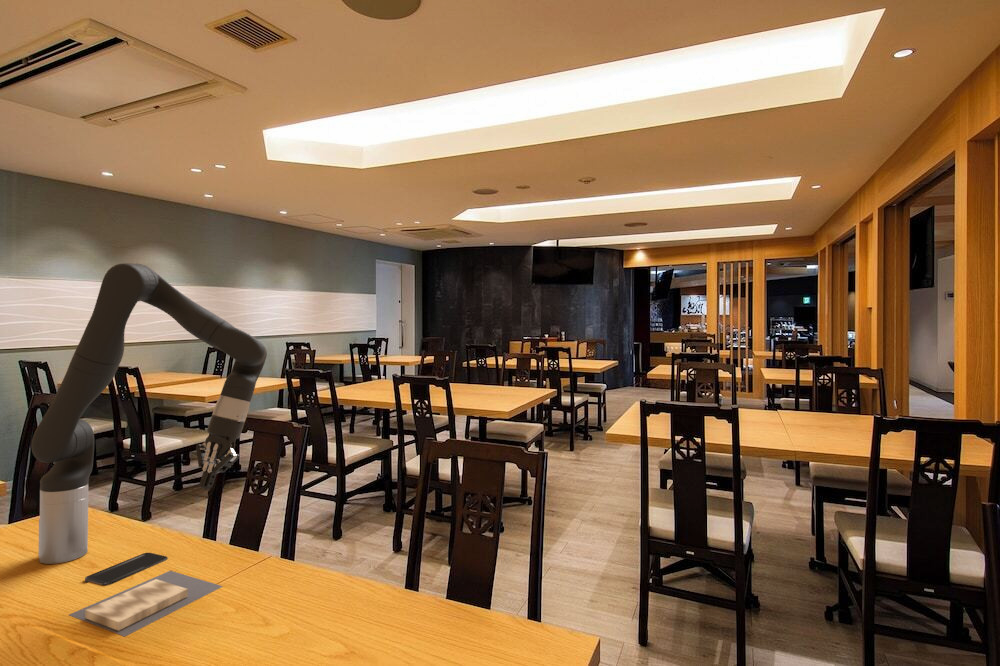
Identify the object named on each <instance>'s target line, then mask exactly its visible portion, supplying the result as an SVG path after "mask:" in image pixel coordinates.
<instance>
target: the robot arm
mask: <svg viewBox="0 0 1000 666" xmlns="http://www.w3.org/2000/svg"><path fill="white" fill-rule="evenodd" d="M138 302H143V303H145V304H147V305H150V306H152V307H154V308H155V307H156V308H157V309H159V310H160V311H162V312H164V313H165V314H166V315H169V316H170V317H171V318H172V319H173V320H175V321H176V323H178V324H179V325H180V327H182V328H183V329H184V330H185V331H187V333H189V334H191V335H192V336H194V337H195V338H197V339H198V340H200V341H202V342H204V343H206V344H207V345H209V346H211V347H212V348H214V349H218V350H220V351H221V352H223V353H225V354H226V355H227V356H229V357H231V358H232V359H233V360H234V363H233V365H232V366H233V367H232V369H231V372H230V373H229V374H228V375H227V377H226V379H225V381H224V384H223V387H222V389H221V392H220V395H219V397H218V400H217V401H216V404H215V406H214V408H213V411H212V414H211V417H210V419H209V423H208V426H207V429H206V433H208V436H207V437H206V439H205V441H204V442H203V443H202V444H200V443H197V444H196V446H195V451H196V457H197V464H198V467H199V468H201V469H202V471H203V473H202V475H201V478H200V481H199V486H198V487H199V489H200V488H201V489H203V490H211V489H212V487H213V486H214V484H215V480H216V477H217V475H218V474H219V473H225V472H226V471H228V469H229V468H230V467H231V466H233V465H234V464H235V462H237V461H238V460H239V458H240V454H239V453H236V451H235V448H236V440H238V439H240V438H241V435H242V431H243V430H244V426H245V423H246V420H247V416H248V413H249V409H250V405H251V400H252V398H253V395H254V391H255V389H256V385H257V381H258V379H259V377H260V375H261V372H262V371H263V368H264V365H265V364H266V360H267V356H268V351H267V349H266V347H265V345H264V343H263V342H262V341H261V340H259V339H258V338H256V337H254V336H253V335H251V334H249V333H247V332H245V331H243V330H241V329H239V328H237V327H235V326H233V325H232V324H231V323H230V322H228V321H227V320H225V319H223V317H220V316H219V315H217V314H215V313H214V312H212V311H210V310H209V309H207V308H205V307H203V306H201V305H200V304H199V303H197V302H195V301H194V300H192V299H191V298H189V297H188V296H186V295H184V294H183V293H182V292H181V291H179V290H178V289H177V288H175V287H174V286H173V285H171V284H170V283H169V282H168V281H167V280H166V279H164V278H163V277H162V276H161V275H160V274H159V273H157V272H156V271H154V269H152V268H151V267H149V266H147V265H146V264H142V263H133V262H131V263H129V262H123V263H118V264H115V265H113V266H111V267H110V268H109V269H108V270H107V272H106V273H105V274H104V276H103V279H102V282H101V285H100V288H99V292H98V294H97V298H96V302H95V305H94V308H93V311H92V313H91V316H90V318H89V320H88V322H87V325H86V326H85V329H84V332H83V334H82V336H81V338H80V341H79V343H78V344H77V346H76V348H75V350H74V353H73V355H72V357H71V360H70V362H69V365H68V366H67V370H66V372H65V375H64V377H63V379H62V381H61V383H60V385H59V387H58V389H57V392H56V394H55V396H54V398H53V400H52V402H51V404H50V406H49V407H48V409H47V411H46V412H45V414H44V416H43V417H42V419H41V421H40V422H39V424H38V426H37V428H36V430H35V431H34V434H33V435H32V438H31V445H30V447H31V452H32V453H31V454H33V456H34V458H35V459H36V460H38V462H42V463H47V464H49V463H50V464H51V463H54V464H53V466H52V467H51V468H50V469H49V470H48V471H47V472H46V473H45V474H44V475H43V476H42V477H40V480H39V519H38V558H39V560H38V561H39V563H41V564H45V565H46V564H47V565H51V564H52V565H53V564H54V565H55V564H62V563H67V562H71V561H74V560H76V559H79V558H81V557H84V556H85V555H86V554H87V553H88V551H89V549H88V545H89V544H88V543H89V541H88V540H89V478H90V475H91V474H92V472H93V468H94V466H93V465H94V456H95V455H94V454H95V433H94V431H93V428H92V426H91V424H89V422H87V420H84V419H82V418H81V417H82V415H83V414H84V412H85V411H86V409H87V408H88V407H89V406H90V405H91V404H92V403H93V402H94V401H95V400H96V399H97V398H98V397H99V396H100V395H101V394H102V393H103V392H104V391H105V390H106V388H108V386H109V385H110V384H111V382H112V380H113V379H114V378H115V376H116V373H117V372H118V369H119V366H120V365H121V362H122V360H123V357H124V351H125V332H126V330H125V329H126V325H127V322H128V320H129V318H130V316H131V314H132V312H133V311H134V308H135V306H136V304H137V303H138Z"/></svg>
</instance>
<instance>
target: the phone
mask: <svg viewBox="0 0 1000 666" xmlns="http://www.w3.org/2000/svg"><path fill="white" fill-rule="evenodd" d="M168 559H169V558H168V556H166V555H163V554H157V553H152V552H143V553H140V554H139V555H136V556H134V557H130V558H129V559H126V560H124V561H121V562H119V563H117V564H114V565H112V566H109V567H107V568H106V567H105V569H101V570H99V571H97V572H95V573H94V572H93V573H91V574H89V575H87V576H85V578H84V582H85V583H86V584H87V583H92V584H97V585H100V586H105V587H106V586H110V585H113V584H116V583H118V582H119V581H120V582H121V581H122V580H125V579H126V578H129V577H131V576H134V575H136V574H138V573H140V572H142V571H145V570H148V569H150V568H152V567H154V566H156V565H159V564H161V563H163V562H165V561H167V560H168Z"/></svg>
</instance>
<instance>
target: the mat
mask: <svg viewBox="0 0 1000 666" xmlns="http://www.w3.org/2000/svg"><path fill="white" fill-rule="evenodd" d="M155 579H157V580H161V581H164V582H167V583H170V584H174V585H177V586H180V587H183V588H186V589H188V597H186V598H184V599H182V600H180V601H178V602H176V603H174V604H172V605H169V606H167V607H165V608H163V609H161V610H159V611H157V612H155V613H153V614H151V615H149V616H147V617H145V618H143V619H141V620H139V621H137V622H135V623H133V624H131V625H129V626H127V627H125V628H123V629H121V630H119V631H118V630H115V629H112V628H110V627H107V626H105V625H102V624H99V623H97V622H94V621H91V620H89V619H86V618H85V610H86V609H89V608H91V607H93V606H95V605H98V604H100V603H102V602H105V601H107V600H109V599H111V598H114V597H116V596H118V595H121V594H123V593H125V592H127V591H130V590H132V589H134V588H137V587H139V586H141V585H143V584H146V583H148V582H150V581H153V580H155ZM222 587H223V588H224V586H223V585H221V584H217V583H213V582H209V581H207V580H203V579H199V578H196V577H193V576H191V575H187V574H183V573H180V572H176V571H173V570H169V571H166V572H163V573H162V574H159V575H157V576H155V577H153V578H152V577H151V578H150V579H148V580H145V581H143V582H141V583H139V584H137V585H135V586H132V587H129V588H127V589H125V590H123V591H120V592H118V593H116V594H113V595H111V596H109V597H106V598H104V599H102V600H98V601H97V602H95V603H92V604H90V605H88V606H85V607H83V608H82V609H81V608H80V609H79V610H76V611H74V612H72V613H69V614H68V616H70V617H72V618H74V619H77V620H80V621H83V622H86V623H89V625H90V624H91V625H93V626H95V627H98V628H101V629H104V630H107V631H109V632H111V633H114V634H117V635H119V636H122V637H127V636H129V635H131V634H134V633H135V632H136V631H138V630H140V629H143V628H145V627H147V626H148V625H151V624H152V623H154V622H156V621H159V620H160V619H162V618H164V617H166V616H169V615H170V614H173V613H174V612H176V611H178V610H179V609H181V608H184V607H186V606H188V605H190V604H191V603H193V602H196V601H197V600H199V599H201V598H203V597H206V596H208V595H209V594H212V593H213V592H215V591H217V590H219V589H221V588H222Z"/></svg>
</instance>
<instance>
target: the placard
mask: <svg viewBox="0 0 1000 666" xmlns="http://www.w3.org/2000/svg"><path fill="white" fill-rule="evenodd" d="M186 597H188V589H186V588H183V587H180V586H177V585H174V584H170V583H167V582H164V581H161V580H157V579H155V580H153V581H150V582H148V583H146V584H143V585H141V586H139V587H137V588H134V589H132V590H130V591H127V592H125V593H123V594H121V595H118V596H116V597H114V598H111V599H109V600H107V601H105V602H102V603H100V604H98V605H95V606H93V607H91V608H89V609H86V610H85V618H86V619H89V620H91V621H94V622H97V623H99V624H102V625H105V626H107V627H110V628H112V629H115V630H118V631H119V630H121V629H123V628H125V627H127V626H129V625H131V624H133V623H135V622H137V621H139V620H141V619H143V618H145V617H147V616H149V615H151V614H153V613H155V612H157V611H159V610H161V609H163V608H165V607H167V606H169V605H172V604H174V603H176V602H178V601H180V600H182V599H184V598H186Z"/></svg>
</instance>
